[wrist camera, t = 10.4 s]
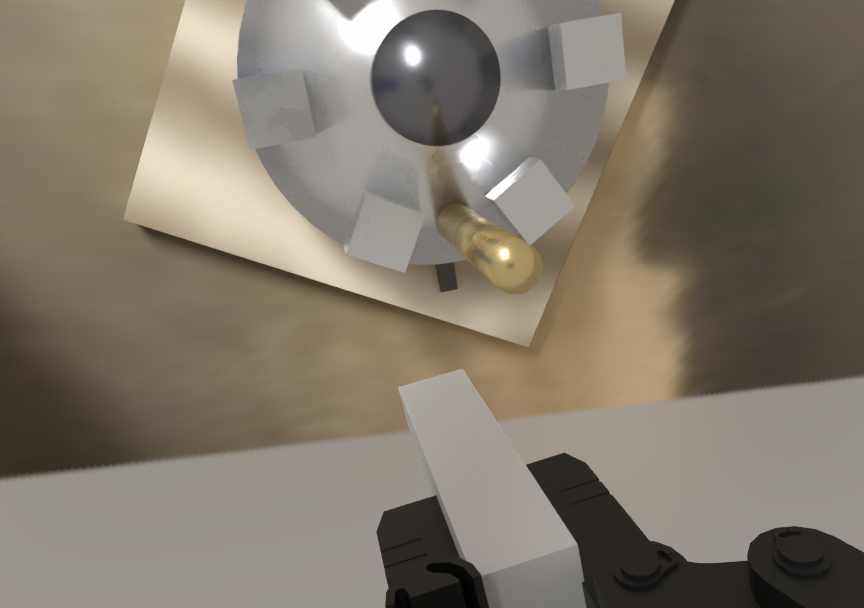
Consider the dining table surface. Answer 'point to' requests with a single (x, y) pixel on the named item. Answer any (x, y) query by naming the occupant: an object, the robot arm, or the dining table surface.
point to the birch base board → (287, 229)
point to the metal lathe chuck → (428, 121)
